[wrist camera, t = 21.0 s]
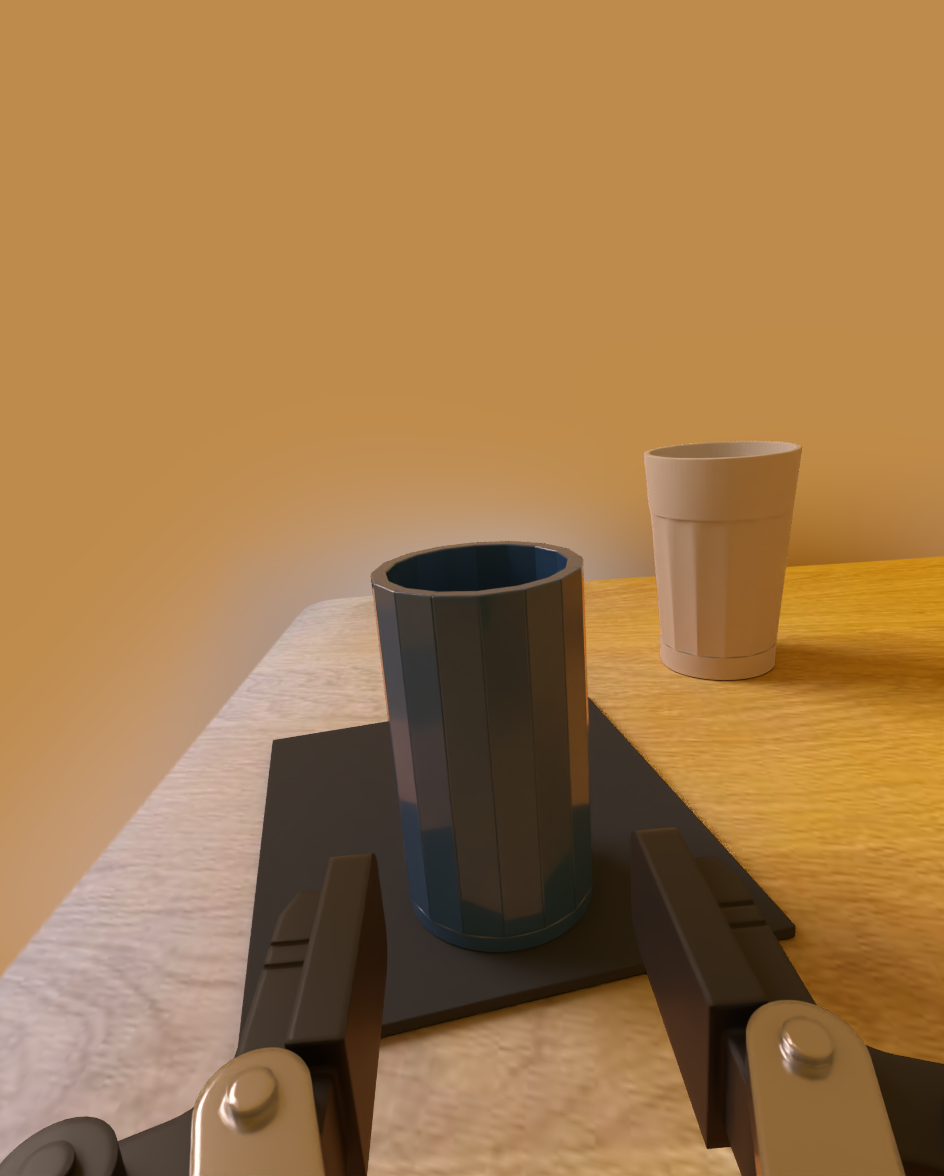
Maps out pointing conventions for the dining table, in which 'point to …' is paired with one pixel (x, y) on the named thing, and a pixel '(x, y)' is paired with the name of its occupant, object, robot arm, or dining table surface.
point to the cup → (721, 552)
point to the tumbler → (490, 738)
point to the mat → (372, 825)
